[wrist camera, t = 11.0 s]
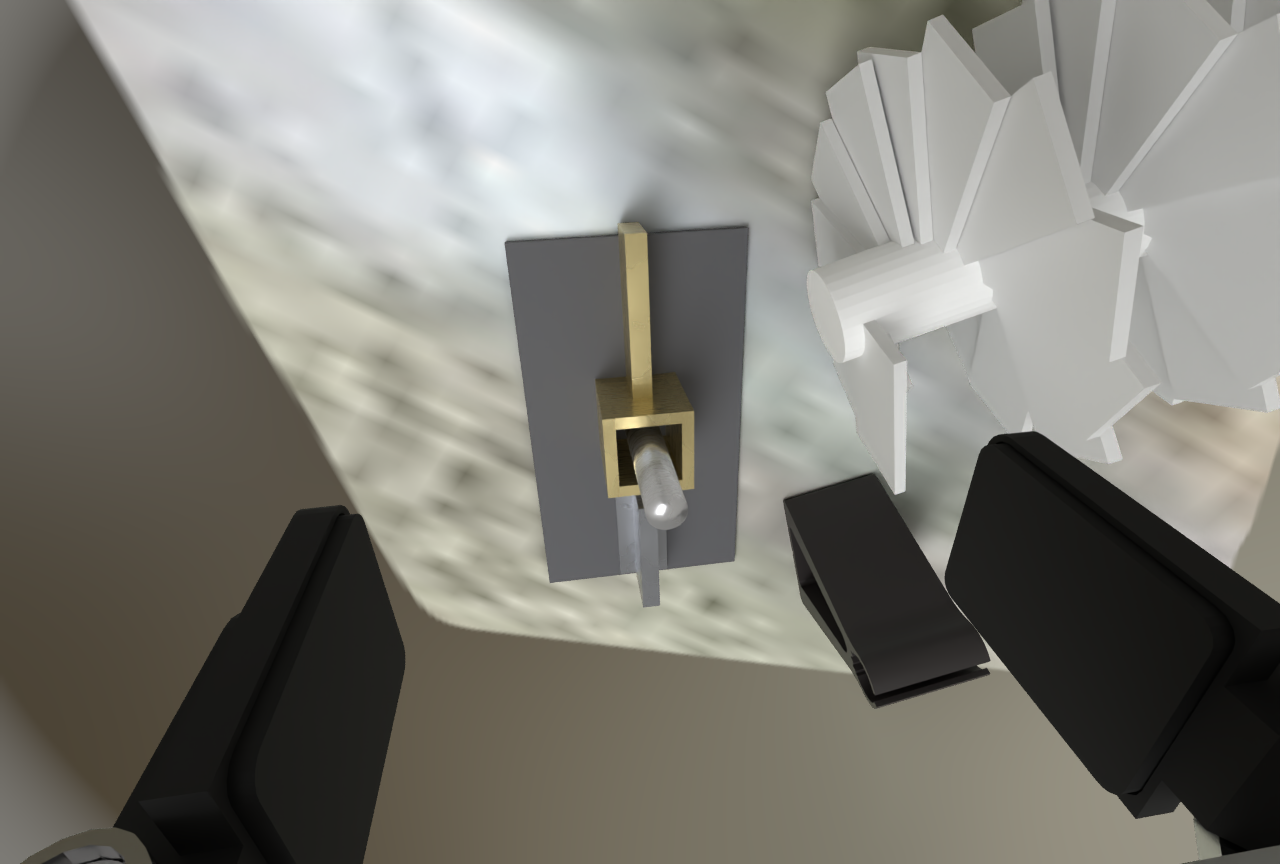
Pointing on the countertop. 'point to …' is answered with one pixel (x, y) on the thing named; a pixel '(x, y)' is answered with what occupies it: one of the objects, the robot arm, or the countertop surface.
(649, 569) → the fixed leaf
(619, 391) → the loose leaf
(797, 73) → the countertop surface
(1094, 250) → the spiral staircase
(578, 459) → the mat
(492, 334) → the countertop surface
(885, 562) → the phone stand
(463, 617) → the countertop surface
